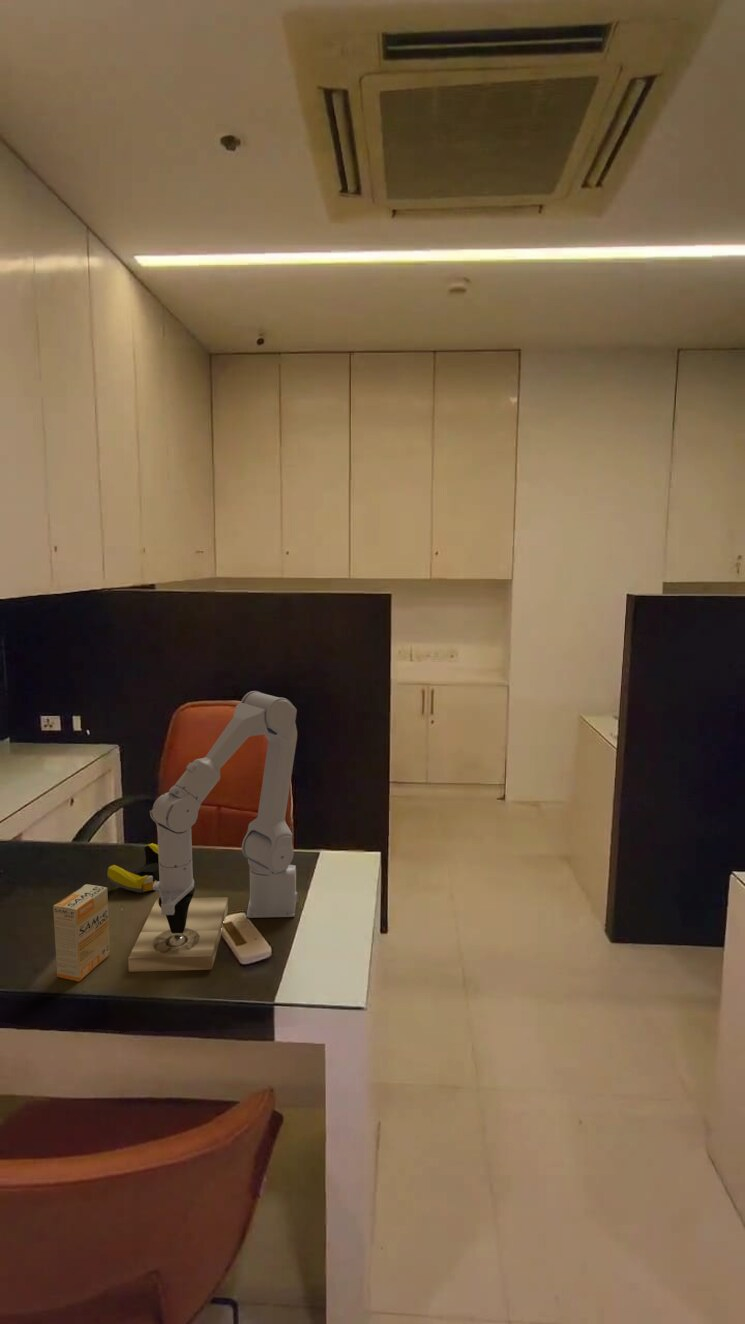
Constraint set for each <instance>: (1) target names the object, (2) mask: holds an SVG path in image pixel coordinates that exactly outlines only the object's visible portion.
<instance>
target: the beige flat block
mask: <svg viewBox="0 0 745 1324" xmlns="http://www.w3.org/2000/svg"><path fill="white" fill-rule="evenodd" d="M158 900H159V898H156V900H155V902H154V904H153V906H152V908H151V911H150V913H149V914H148V916H147V919H146V921H145V923H144V925H143V926H142V929H141V931H140V932H139V934H138V937H137V939H136V941H135V943H134V946H133V948H132V949H131V952H130V954H129V955H128V958H127V959H128V972H129V973H130V972H135V973H136V972H166V971H201V970H202V971H204V970H206V971H207V970H213V967H214V963H215V960H216V955H217V952H218V948H219V945H220V941H221V937H222V934H221V928H222V924H223V921H224V919H225V917H226V918H227V915H228V911H229V897H227V896H226V897H225V896H224V897H223V896H220V897H192V900H191V902H190V904H189V908H188V914H187V920H186V926H185V929H184V932H183V933H172V932H171V930H170V927H169V923H168V920H167V917H166V915H162V913H161V907H160V906H159V901H158ZM225 920H226V919H225ZM174 935H182V936H184V937H185V939H186V941H187V943H185V944H184V945H182V946H179V947H169V946H168V942H169V940H170V939H171V937H173V936H174Z"/></svg>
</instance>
